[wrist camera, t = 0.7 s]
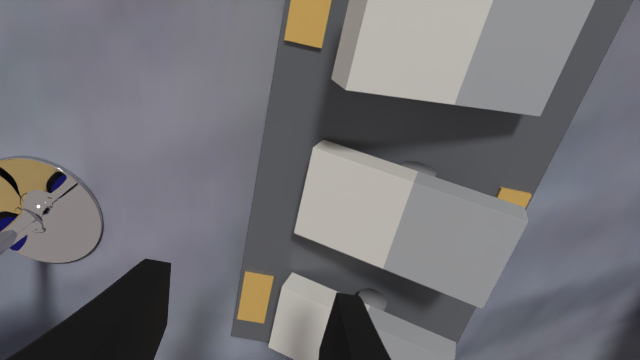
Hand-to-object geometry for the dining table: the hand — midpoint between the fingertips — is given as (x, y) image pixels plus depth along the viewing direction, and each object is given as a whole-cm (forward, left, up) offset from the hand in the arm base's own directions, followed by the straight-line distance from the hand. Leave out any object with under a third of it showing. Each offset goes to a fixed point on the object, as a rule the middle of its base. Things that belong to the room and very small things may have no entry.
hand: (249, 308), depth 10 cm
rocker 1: (-4, -7, -8) cm, 11 cm away
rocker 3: (-6, +7, -8) cm, 12 cm away
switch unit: (-5, 0, -10) cm, 12 cm away
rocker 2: (-6, 0, -8) cm, 10 cm away
